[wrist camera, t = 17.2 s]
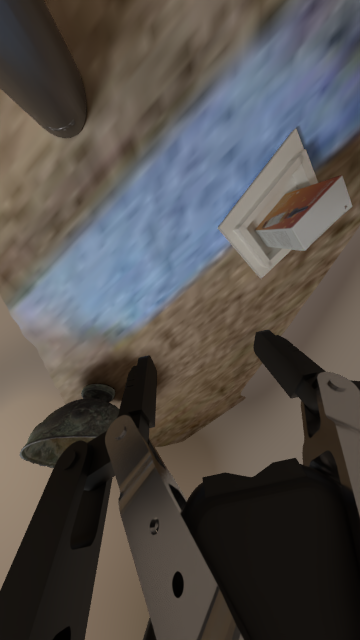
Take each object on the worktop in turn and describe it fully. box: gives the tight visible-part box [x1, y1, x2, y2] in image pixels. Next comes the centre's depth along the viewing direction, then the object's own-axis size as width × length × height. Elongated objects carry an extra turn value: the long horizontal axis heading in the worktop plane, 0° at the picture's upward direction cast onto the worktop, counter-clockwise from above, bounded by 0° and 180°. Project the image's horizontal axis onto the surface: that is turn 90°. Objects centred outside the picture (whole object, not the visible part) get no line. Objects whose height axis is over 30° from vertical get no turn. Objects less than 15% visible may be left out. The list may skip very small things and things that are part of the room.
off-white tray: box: [218, 129, 318, 278], centre depth 29 cm, size 18×18×4 cm
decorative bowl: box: [20, 384, 120, 468], centre depth 48 cm, size 27×26×20 cm
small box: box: [255, 175, 352, 251], centre depth 25 cm, size 8×6×10 cm
